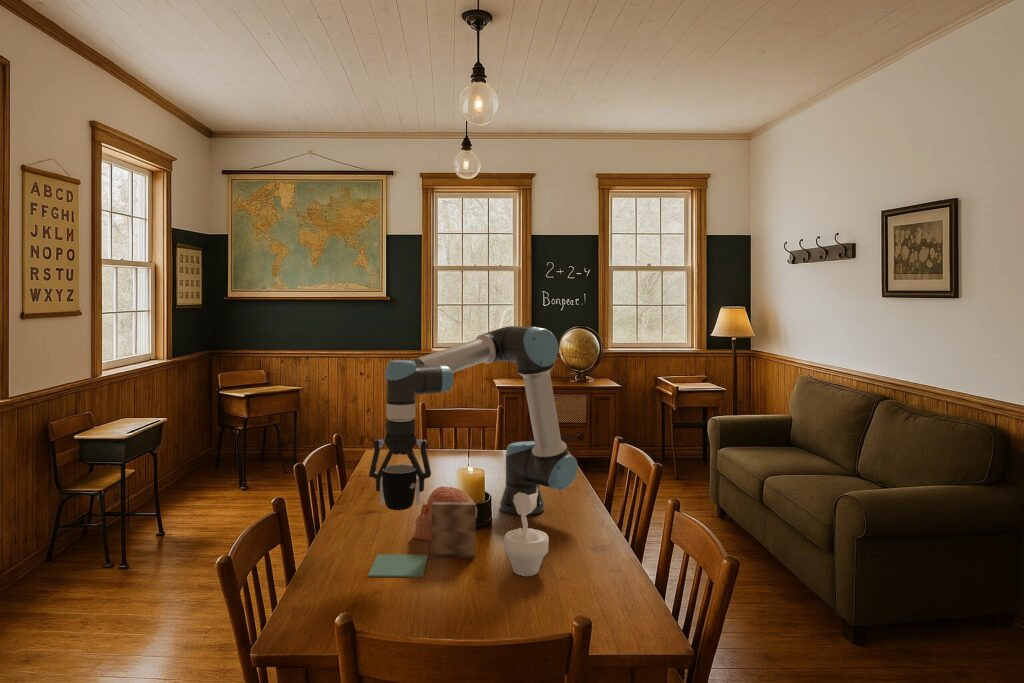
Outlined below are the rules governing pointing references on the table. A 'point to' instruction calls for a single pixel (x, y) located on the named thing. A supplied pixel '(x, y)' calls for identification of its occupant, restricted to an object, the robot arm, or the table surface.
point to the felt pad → (398, 566)
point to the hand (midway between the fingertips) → (400, 503)
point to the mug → (399, 486)
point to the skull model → (425, 518)
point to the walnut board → (453, 530)
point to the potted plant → (526, 539)
